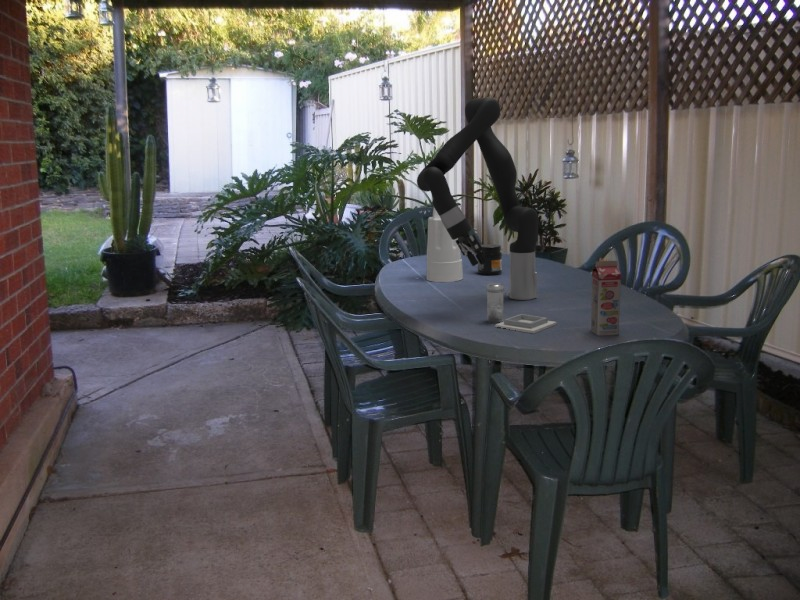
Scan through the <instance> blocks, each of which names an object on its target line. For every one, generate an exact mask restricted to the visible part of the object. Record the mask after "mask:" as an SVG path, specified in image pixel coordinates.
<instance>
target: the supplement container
mask: <svg viewBox="0 0 800 600" xmlns="http://www.w3.org/2000/svg"><path fill="white" fill-rule="evenodd" d="M480 245H481V247H482V249H483V250H481V251H482V254H483V256H484V258H485V259H486V263H484V264H483V265H481V264H480V263H479V261H478V260H477V261H478V264H477V273H478V274H479V275H481V276H498V275H500V274H501V273H502V272H503V269H502V268H503V253H502V251H501V250H502V245H500V244H494V243H493V244H491V243H489V244H488V243H487V244H486V243H485V244H480Z"/></svg>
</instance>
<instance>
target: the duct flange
mask: <svg viewBox="0 0 800 600" xmlns="http://www.w3.org/2000/svg"><path fill="white" fill-rule="evenodd" d="M556 325H557V321H552V320H549V318H548V317H544V316H538V315H537V316H536V315H532V314H525V313H519V314H515V315H513V316H511V317H508V318H504V319H503V322H500V323H495V324H494V328H497V327H501V328H500V329H503V328H506V329H505V330H509V329H510V331H515V330H516V331H515V332H522V333H523V332H524V333H528V334H535V333H538V332H541V331H543V330H546V329H548V328H551V327H553V326H556Z"/></svg>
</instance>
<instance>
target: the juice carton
mask: <svg viewBox="0 0 800 600" xmlns="http://www.w3.org/2000/svg"><path fill="white" fill-rule="evenodd" d="M618 263H619V261H618V260H610V261H608V260H607V261H605V260H604V261H599V260H598V261H597V260H595V266H594V268H593V269H592V270H591V301H590V302H591V304H590V305H591V307H590V308H591V309H590V310H591V311H590V331H591V332H592V333H593V334H595V335H596V336H598V337H599V336H617V335H618V336H619V335H620V316H621V315H620V314H621V313H620V312H621V288H622V286H621V285H622V284H621V283H622V282H621V281H622V273H621V271H620V269H619V267H618Z"/></svg>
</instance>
